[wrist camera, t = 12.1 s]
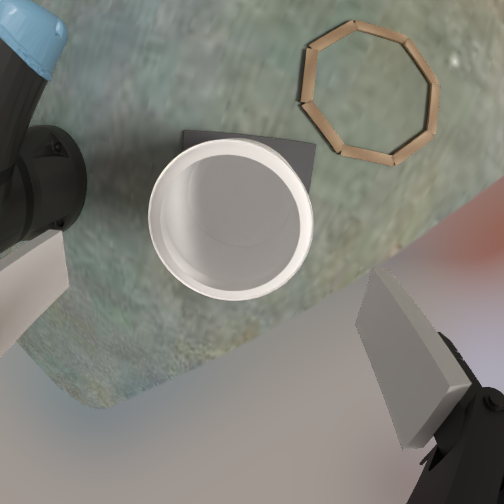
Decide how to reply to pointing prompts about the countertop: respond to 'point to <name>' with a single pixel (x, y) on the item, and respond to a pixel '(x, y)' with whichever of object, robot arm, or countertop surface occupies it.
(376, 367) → the robot arm
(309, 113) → the cork ring
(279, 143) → the mat
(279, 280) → the jar
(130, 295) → the countertop surface
